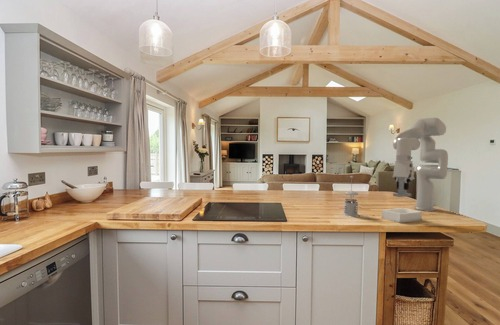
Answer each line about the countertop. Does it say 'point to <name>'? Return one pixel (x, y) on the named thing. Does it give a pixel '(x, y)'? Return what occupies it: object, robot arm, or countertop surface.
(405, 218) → the grey shallow tray
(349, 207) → the french press
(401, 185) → the steel bracket
